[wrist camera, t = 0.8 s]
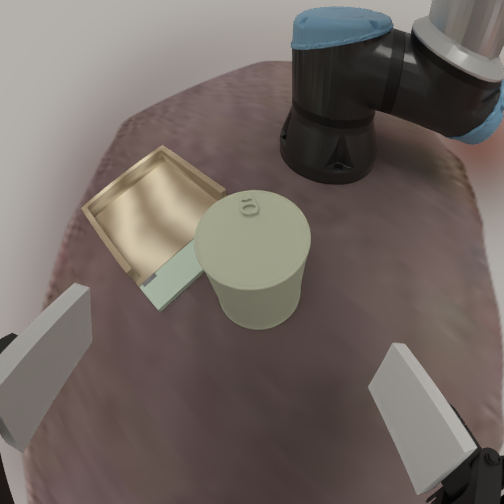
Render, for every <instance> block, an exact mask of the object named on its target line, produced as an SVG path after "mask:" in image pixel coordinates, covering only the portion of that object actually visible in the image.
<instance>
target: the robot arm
mask: <svg viewBox="0 0 504 504" xmlns="http://www.w3.org/2000/svg"><path fill="white" fill-rule="evenodd" d="M393 26H394V25H393V23H392V20H391V18H390V17H389V16H387V15H385V14H383V13H379V12H374V11H372V10H368V9H361V8H353V7H320V8H314V9H309V10H306V11H304V12H302V13H300V14H299V15H297V17H296V18H295V20H294V24H293V40H292V42H291V47H292V107H291V109H290V112H289V114H288V116H287V119H286V121H285V123H284V126H283V128H282V131H281V134H280V152H281V155H282V157H283V159H284V161H285V162H286V163H287V164H288V166H289V167H291V168H292V169H293V170H294V171H296V172H297V173H299V174H300V175H302V176H304V177H306V178H309V179H311V180H315V181H318V182H322V183H329V184H344V183H350V182H354V181H357V180H359V179H361V178H363V177H364V176H366V175H367V174H368V173H369V172H370V170H371V169H372V167H373V164H374V160H375V157H376V151H377V148H376V138H375V130H374V122H373V119H374V115H375V110H377V111H381V112H384V113H387V114H390V115H393V116H396V117H399V118H402V119H404V120H407V121H410V122H413V123H415V124H418V125H420V126H423V127H425V128H428V129H430V130H433V131H435V132H437V133H440V134H442V135H443V136H445V137H448V138H450V139H456V140H458V141H461V142H463V143H466V144H472V145H473V144H479V143H481V142H483V141H485V140H486V139H488V138H489V137H490V136H491V135H492V134H493V133H494V132H495V131H496V129H497V128H498V127H499V125H500V123H501V121H502V119H503V110H504V79H503V78H504V68H503V65H502V63H501V60H500V58H499V55H500V52H501V50H502V48H503V46H504V0H432V4H431V9H430V14H429V16H426V17H423V18H419V19H417V20H415V21H414V23H413V26H412V31H411V34H410V33H407V32H403V31H399V30H397V29H394V28H393ZM92 342H93V339H92V326H91V309H90V287H86V286H83V285H79V284H76V283H74V284H73V285H72V286H71V287H69V288H68V289H67V290H66V291H65V292H64V293H63V294H62V295H60V296H59V297H58V298H57V299H56V300H55V301H54V302H53V303H52V304H51V305H49V306H48V307H47V308H46V309H45V310H44V311H43V312H42V313H41V314H40V315H39V316H38V317H37V318H36V319H35V320H34V321H32V323H30V324H29V325H28V326H27V327H26V328H25V329H24V330H23V331H22V332H21V333H20V334H19V335H16V334H13V333H11V334H9V335H7V336H5V337H3V338H1V339H0V434H1V436H2V437H3V439H4V440H5V442H6V443H8V444H9V445H11V446H12V447H14V448H15V449H17V450H19V451H20V452H22V453H24V451H25V449H26V447H27V445H28V444H29V442H30V440H31V438H32V436H33V435H34V433H35V431H36V429H37V428H38V426H39V424H40V422H41V421H42V419H43V417H44V416H45V414H46V412H47V411H48V409H49V407H50V406H51V404H52V402H53V401H54V399H55V398H56V396H57V394H58V393H59V391H60V390H61V388H62V387H63V385H64V383H65V382H66V380H67V379H68V377H69V376H70V374H71V373H72V371H73V370H74V368H75V367H76V365H77V364H78V362H79V361H80V359H81V358H82V356H83V355H84V353H85V352H86V350H87V349H88V347H89V346H90V345H91V343H92ZM368 388H369V390H370V392H371V394H372V396H373V399H374V401H375V403H376V405H377V407H378V409H379V411H380V413H381V415H382V417H383V420H384V422H385V424H386V426H387V428H388V430H389V432H390V435H391V437H392V439H393V441H394V443H395V446H396V448H397V450H398V452H399V454H400V457H401V459H402V461H403V463H404V466H405V468H406V470H407V473H408V475H409V477H410V480H411V482H412V484H413V487H414V489H415V492H416V494H417V495H419V494H422V493H425V492H428V491H430V490H432V489H433V488H434V487H436V486H437V485H438V484H439V483H440V482H441V483H442V485H443V487H441V488H440V489H439V490H438V491H436V492H435V493H434V494H433V495H431V496H430V497H429V498H428V499H427V501H426V502H427V503H428V502H429V501H431V500H432V499H433V498H435V497H436V499H435V500H434V501H432V502H431V504H504V495H503V496H501V490H503V489H504V456H500V455H499V454H498V453H497V452H496V451H495V450H494V449H492V448H488V447H487V448H483V449H482V448H481V447H480V445H479V444H478V442H477V441H476V439H475V438H474V436H473V435H472V433H471V431H470V430H469V428H468V427H467V425H465V422H464V421H463V419H462V418H460V415H459V414H458V412H457V411H456V409H455V408H454V407H453V406H452V405H451V404H449V403H448V402H447V401H446V399H445V398H444V396H443V395H442V394H441V392H440V391H439V389H438V388H437V386H436V385H435V384H434V382H433V381H432V380H431V378H430V377H429V375H428V374H427V373H426V371H425V370H424V369H423V367H422V366H421V365H420V363H419V362H418V360H417V359H416V358H415V357H414V355H413V354H412V353H411V351H410V350H409V349H408V347H407V346H406V345H405V344H402V343H392V345H391V347H390V348H389V350H388V352H387V354H386V356H385V358H384V360H383V362H382V363H381V365H380V367H379V369H378V371H377V372H376V374H375V376H374V378H373V379H372V381H371V383H370V384H369V386H368ZM0 504H14V501H13V498H12V495H11V492H10V488H9V485H8V482H7V478H6V475H5V471H4V467H3V463H2V459H1V454H0Z"/></svg>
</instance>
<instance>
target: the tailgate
mask: <svg viewBox="0 0 504 504" xmlns="http://www.w3.org/2000/svg"><path fill="white" fill-rule="evenodd" d="M204 272H205V271H204V270H203V269H202V267H201V266H200V264H199V262H198V260H197V257H196V254H195V249H194V239H193V240H192V241H191V242H190V243H188V244H187V245H186V246H185V247H184V248H183V249H182V250H180V251H179V252H178V253H177V254H176V255H175V256H174V257H172V258H171V259H170V260H169V261H168V262H167V263H166V264H165V265H163V266H162V267H161V268H160V269H159V270H158V271H157V272H156V273H153V274H152V275H151V276H150V277H149V278H148V279H146V280H145V281H144V282H143V283H142V285H141V286H140V289H141V290H142V291H143V292H144V294H145V295H146V296H147V297H148V298H149V300H150V301H151V302H152V303H153V305H154V306H155V307H156V308H157V309H158V310H159V311H160V312H162V311H163V310H164V309H165V308H166V307H167V306H168V305H169V304H170V303H171V302H172V301H173V300H175V299H176V298H177V297H178V296H179V295H180V294H181V293H182V292H183V291H184V290H186V289H187V288H188V287H189V286H190V285H191V284H192V283H193V282H194V281H195V280H196V279H198V278H199V277H200V276H201V275H202V274H203V273H204Z"/></svg>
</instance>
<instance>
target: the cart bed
mask: <svg viewBox="0 0 504 504" xmlns="http://www.w3.org/2000/svg"><path fill="white" fill-rule="evenodd" d="M226 196H227V193H226V189H225V188H223V187H222V186H220V185H219V184H218V183H216V182H215V181H213V180H212V179H211V178H209V177H208V176H206V175H205V174H203V173H202V172H201V171H199V170H198V169H196V168H195V167H193V166H192V165H191V164H189V163H188V162H186V161H185V160H183V159H182V158H181V157H179V156H178V155H176V154H175V153H173V152H172V151H170V150H169V149H167V148H166V147H165V146H163V145H162V146H160V147H159V148H157V149H156V150H154V151H153V152H152V153H150V154H149V155H147V156H146V157H145V158H143V159H142V160H141V161H139V162H138V163H136V164H135V165H134V166H132V167H131V168H130V169H128V170H127V171H126V172H125V173H123V174H122V175H121V176H119V177H118V178H117V179H116V180H114V181H113V182H112V183H111V184H109V185H108V186H107V187H106V188H104V189H103V190H102V191H101V192H100V193H98V194H97V195H96V196H95V197H94V198H92V199H91V200H90V201H89V202H88V203H87V204H85V205H84V206H83V207H82V208H81V209H82V210H83V212H84V214H85V215H86V217H87V218H88V220H89V221H90V223H91V224H92V226H93V227H94V229H95V230H96V232H97V233H98V235H99V236H100V237H101V239H102V240H103V242H104V243H105V245H106V246H107V247H108V249H109V250H110V252H111V253H112V254H113V256H114V257H115V259H116V260H117V261H118V263H119V264H120V265H121V267H122V268H123V269H124V271H125V272H126V273H127V274H128V275H129V276H130V277H131V278H132V279H133V280H134V281H135V282H136V284H137V285H138V286H139V287H140V286H141V285H142V283H143V282H144V281H145V280H146V279H148V278H149V277H150V276H151V275H152V274H153V273H156V272H157V271H158V270H159V269H160V268H161V267H162V266H163V265H165V264H166V263H167V262H168V261H169V260H170V259H171V258H172V257H174V256H175V255H176V254H177V253H178V252H179V251H180V250H182V249H183V248H184V247H185V246H186V245H187V244H188V243H190V242H191V241H192V240H193V239H194V236H195V231H196V228H197V225H198V223H199V221H200V219H201V218H202V216H203V215H204V213H205V212H206V211H207V210H208V209H209V208H210V207H211V206H212V205H213V204H215V203H216V202H217V201H219V200H221V199H222V198H224V197H226Z"/></svg>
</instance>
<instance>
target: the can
mask: <svg viewBox="0 0 504 504" xmlns="http://www.w3.org/2000/svg"><path fill="white" fill-rule="evenodd" d="M310 245H311V233H310V227H309V224H308V222H307V219H306V218H305V216H304V214H303V213H302V211H301V210H300V209H299V208H298V207H297V206H296V205H295V204H294V203H293V202H291V201H290V200H288V199H287V198H285V197H283V196H281V195H279V194H276V193H272V192H268V191H261V190H248V191H242V192H237V193H234V194H231V195H228V196H226V197H224V198H222V199H221V200H219V201H217V202H216V203H215V204H213V205H212V206H211V207H210V208H209V209H208V210H207V211H206V212H205V213H204V215H203V216H202V218H201V219H200V221H199V223H198V225H197V228H196V231H195V236H194V249H195V254H196V257H197V260H198V262H199V264H200V266H201V267H202V269H203V270H204V271H205V273H206V275H207V277H208V278H209V280H210V282H211V284H212V286H213V288H214V290H215V292H216V294H217V296H218V298H219V302H220V305H221V307H222V309H223V311H224V313H225V314H226V315H227V316H228V317H229V318H230V319H231V320H232V321H233V322H235V323H236V324H238V325H240V326H242V327H245V328H248V329H255V330H262V329H269V328H272V327H275V326H277V325H279V324H281V323H283V322H284V321H285V320H287V319H288V318H289V317H290V316H291V315H292V313H293V312H294V311H295V309H296V307H297V305H298V302H299V299H300V293H301V282H302V277H303V272H304V267H305V263H306V259H307V256H308V253H309V250H310Z"/></svg>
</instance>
